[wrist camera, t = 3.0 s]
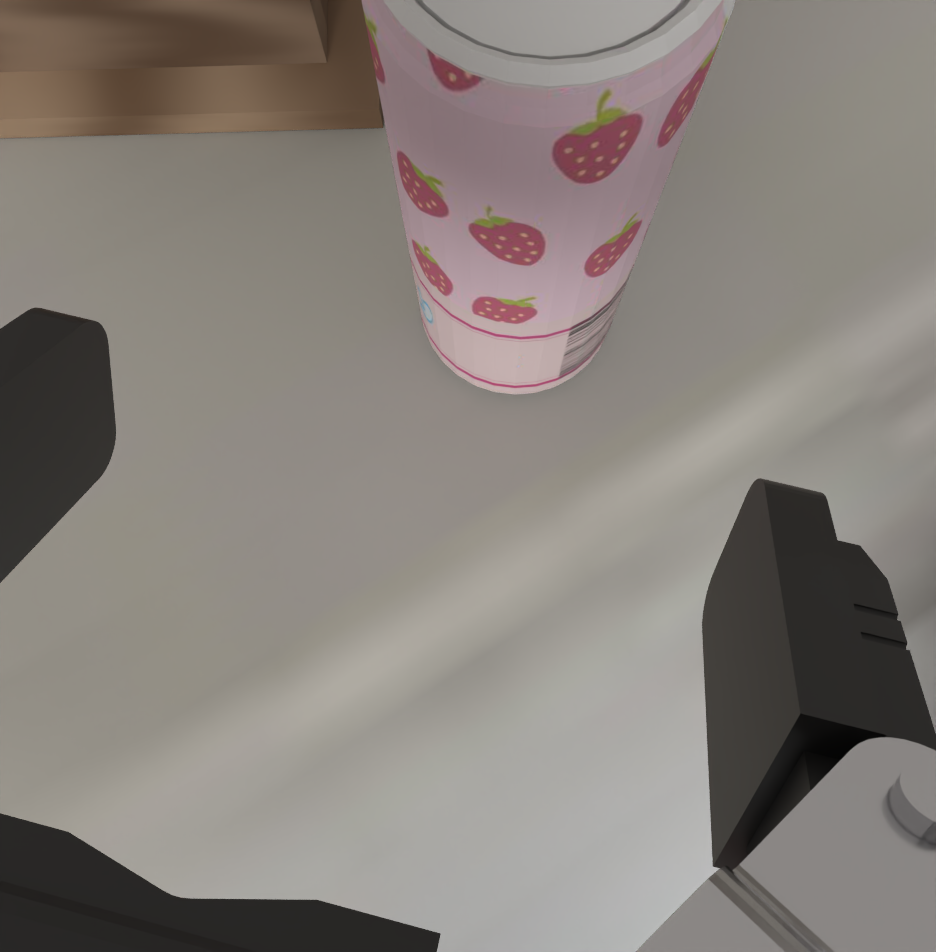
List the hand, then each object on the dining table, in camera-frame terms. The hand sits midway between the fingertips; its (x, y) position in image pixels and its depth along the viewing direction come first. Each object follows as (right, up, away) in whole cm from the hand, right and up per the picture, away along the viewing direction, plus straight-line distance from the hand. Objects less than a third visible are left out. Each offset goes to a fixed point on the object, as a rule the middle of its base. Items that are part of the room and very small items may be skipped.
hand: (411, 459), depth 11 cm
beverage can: (+2, +5, +16) cm, 17 cm away
